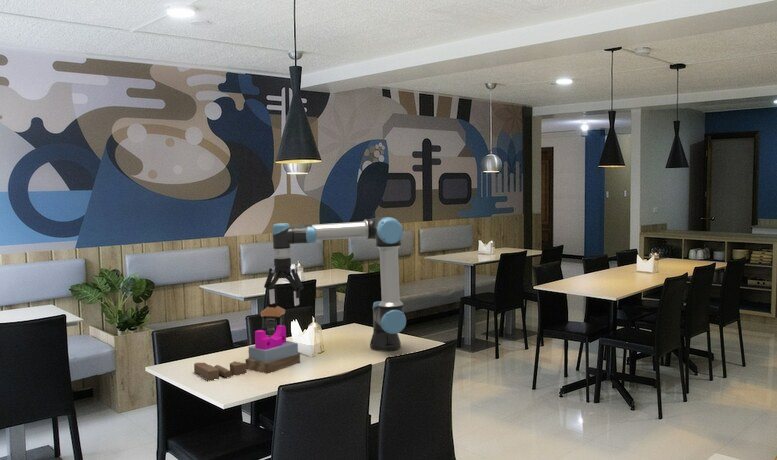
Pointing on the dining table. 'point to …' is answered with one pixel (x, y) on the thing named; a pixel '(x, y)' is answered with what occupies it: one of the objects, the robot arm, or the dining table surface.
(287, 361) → the tower base slab
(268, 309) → the whiskey bottle
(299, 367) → the dining table surface
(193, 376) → the dining table surface
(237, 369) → the wooden block set
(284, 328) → the toy block
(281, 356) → the tower cap slab
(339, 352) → the dining table surface
